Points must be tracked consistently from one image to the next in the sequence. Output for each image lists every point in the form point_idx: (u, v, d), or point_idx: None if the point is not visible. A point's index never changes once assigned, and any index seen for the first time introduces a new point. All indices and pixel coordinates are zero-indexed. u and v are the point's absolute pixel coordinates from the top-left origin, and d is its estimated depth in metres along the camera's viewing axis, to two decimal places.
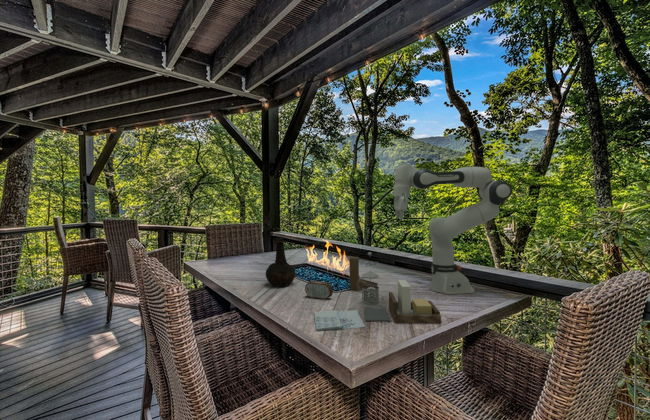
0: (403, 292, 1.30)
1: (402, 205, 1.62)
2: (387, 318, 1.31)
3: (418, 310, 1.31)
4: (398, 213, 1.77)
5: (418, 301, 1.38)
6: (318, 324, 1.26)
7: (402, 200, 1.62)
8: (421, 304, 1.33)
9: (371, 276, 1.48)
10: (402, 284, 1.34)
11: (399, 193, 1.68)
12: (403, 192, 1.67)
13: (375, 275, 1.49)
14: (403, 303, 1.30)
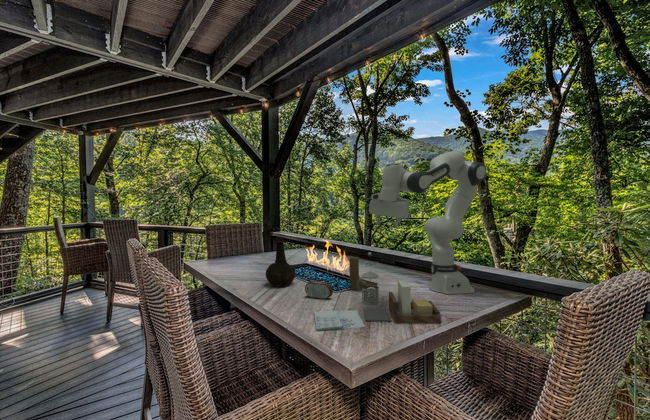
0: (403, 292, 1.30)
1: (406, 212, 1.46)
2: (387, 318, 1.31)
3: (419, 310, 1.31)
4: (378, 218, 1.57)
5: (419, 301, 1.37)
6: (318, 324, 1.26)
7: (406, 206, 1.45)
8: (422, 304, 1.33)
9: (371, 276, 1.48)
10: (402, 284, 1.34)
11: (395, 198, 1.48)
12: (398, 196, 1.49)
13: (375, 275, 1.49)
14: (403, 303, 1.30)
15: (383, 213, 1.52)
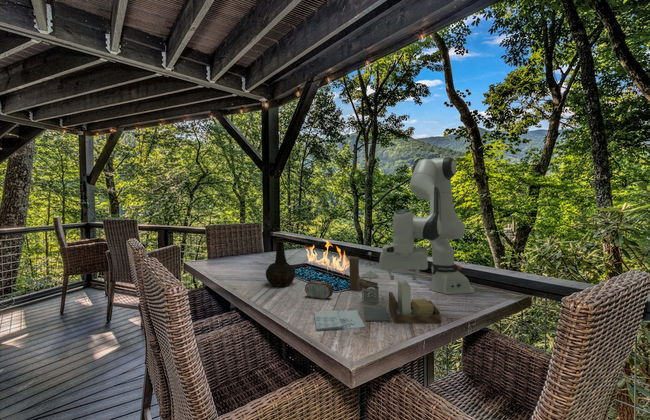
0: (403, 292, 1.30)
1: None
2: (387, 318, 1.31)
3: (421, 310, 1.31)
4: (390, 273, 1.36)
5: (418, 300, 1.37)
6: (318, 324, 1.26)
7: (426, 256, 1.33)
8: (423, 304, 1.33)
9: (371, 276, 1.48)
10: (402, 284, 1.34)
11: (413, 248, 1.33)
12: None
13: (375, 275, 1.49)
14: (403, 303, 1.30)
15: (400, 267, 1.34)
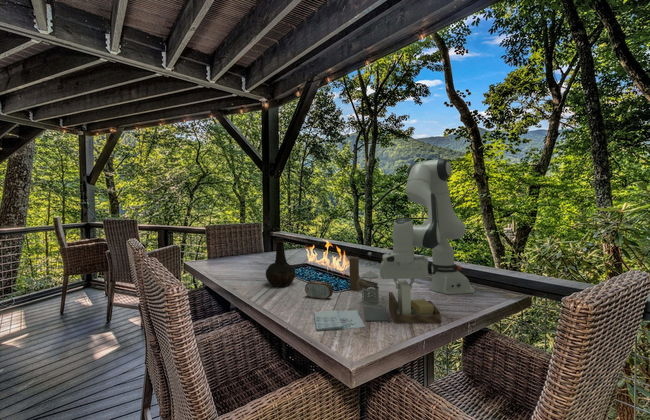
0: (403, 292, 1.30)
1: None
2: (387, 318, 1.31)
3: (421, 310, 1.31)
4: (396, 282, 1.36)
5: (418, 301, 1.37)
6: (318, 324, 1.26)
7: (426, 265, 1.34)
8: (423, 304, 1.33)
9: (371, 276, 1.48)
10: (402, 284, 1.34)
11: (413, 257, 1.33)
12: None
13: (375, 275, 1.49)
14: (403, 303, 1.30)
15: (400, 276, 1.34)
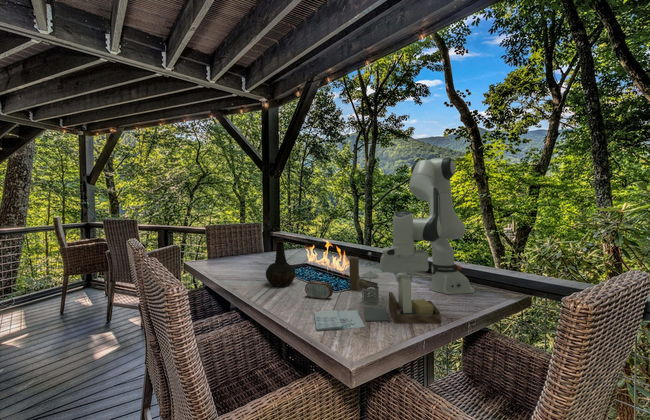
0: (403, 285, 1.30)
1: None
2: (387, 318, 1.31)
3: (421, 311, 1.31)
4: (396, 275, 1.36)
5: (418, 301, 1.37)
6: (318, 324, 1.26)
7: (427, 258, 1.34)
8: (423, 304, 1.33)
9: (371, 276, 1.48)
10: (402, 277, 1.34)
11: (413, 250, 1.33)
12: None
13: (375, 275, 1.49)
14: (404, 296, 1.30)
15: (401, 269, 1.34)
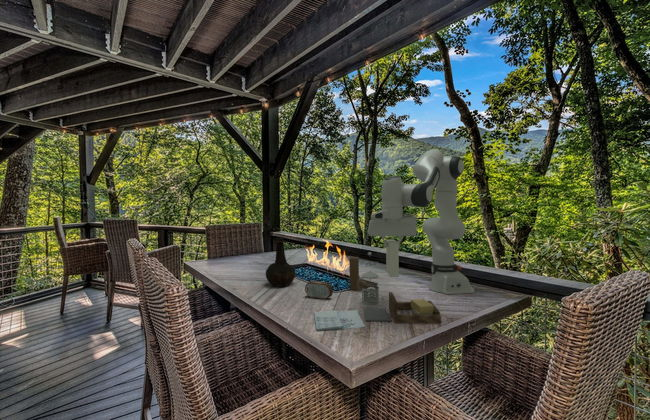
0: (391, 248, 1.30)
1: None
2: (387, 318, 1.31)
3: (421, 311, 1.31)
4: (384, 240, 1.35)
5: (418, 301, 1.37)
6: (318, 324, 1.26)
7: (415, 222, 1.33)
8: (423, 304, 1.33)
9: (371, 276, 1.48)
10: (390, 241, 1.33)
11: (402, 214, 1.32)
12: None
13: (375, 275, 1.49)
14: (391, 259, 1.30)
15: (389, 233, 1.33)
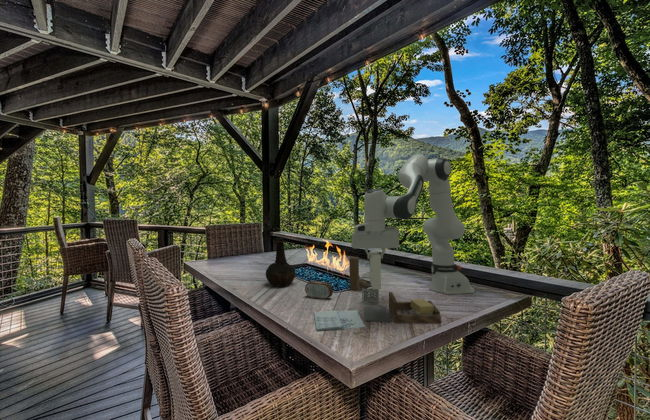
0: (373, 261, 1.31)
1: (398, 241, 1.34)
2: (387, 318, 1.31)
3: (421, 311, 1.30)
4: (367, 252, 1.36)
5: (417, 301, 1.37)
6: (318, 324, 1.26)
7: (397, 235, 1.34)
8: (423, 304, 1.33)
9: None
10: (373, 253, 1.34)
11: (384, 227, 1.33)
12: None
13: None
14: (373, 272, 1.31)
15: (371, 246, 1.34)
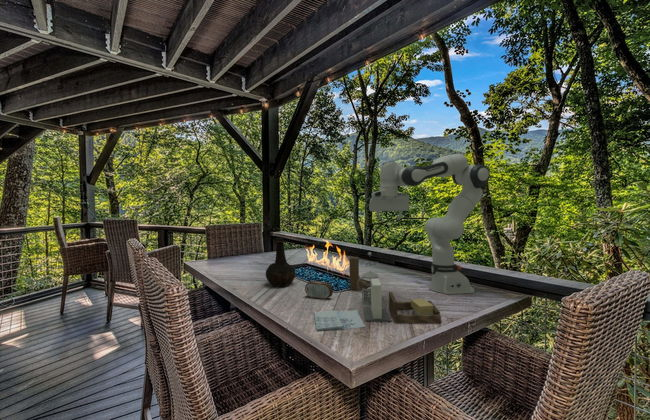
0: (374, 291, 1.31)
1: None
2: (387, 318, 1.31)
3: (421, 310, 1.31)
4: (378, 214, 1.63)
5: (418, 301, 1.38)
6: (318, 324, 1.26)
7: (408, 199, 1.61)
8: (423, 304, 1.33)
9: (371, 276, 1.48)
10: (374, 283, 1.34)
11: (397, 193, 1.60)
12: None
13: (375, 275, 1.49)
14: (374, 301, 1.31)
15: (386, 209, 1.61)
